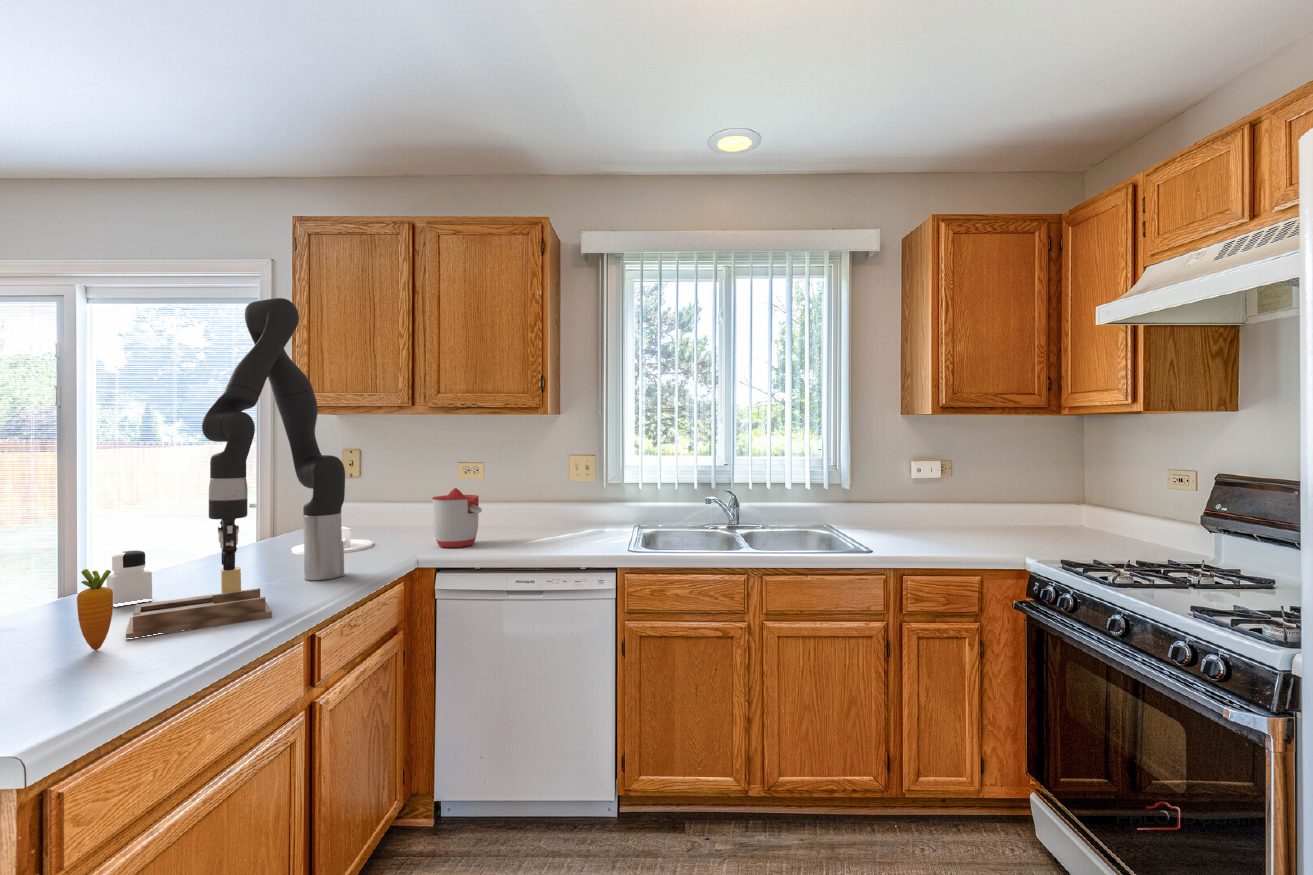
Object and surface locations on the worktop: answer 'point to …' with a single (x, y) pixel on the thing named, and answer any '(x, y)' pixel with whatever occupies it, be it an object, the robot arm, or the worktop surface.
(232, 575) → the flanged block
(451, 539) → the citrus juicer
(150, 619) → the track
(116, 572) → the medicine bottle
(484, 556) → the worktop surface
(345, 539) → the dish
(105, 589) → the carrot
